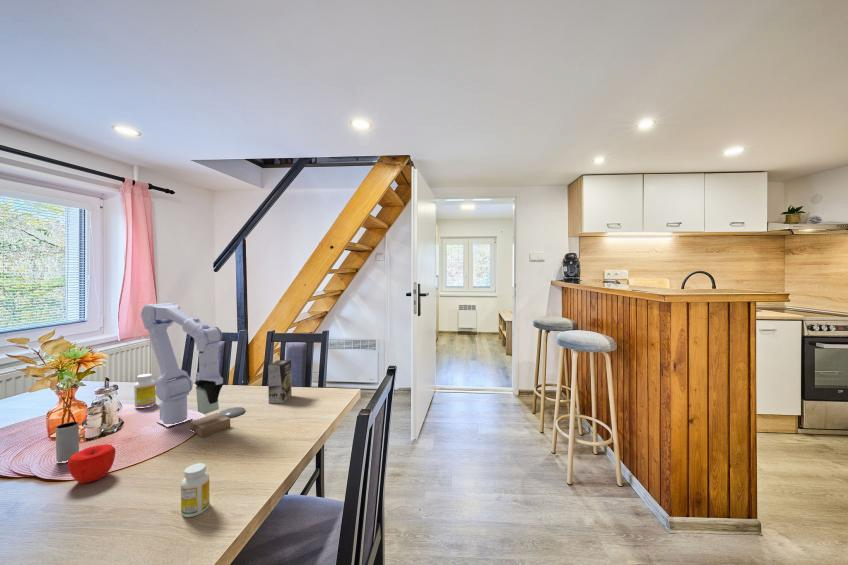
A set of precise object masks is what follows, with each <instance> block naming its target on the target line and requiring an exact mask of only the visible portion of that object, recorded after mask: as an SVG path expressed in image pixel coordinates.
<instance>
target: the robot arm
mask: <svg viewBox="0 0 848 565" xmlns="http://www.w3.org/2000/svg"><path fill="white" fill-rule="evenodd" d="M140 318H141V320H142V324H143V326H144V329H145V330H147V331H148V332H147V333H148V336H149V339H150V341H151V345H152V348H153V351H154V355H155V358H156V362H157V364H158V368H159V370H160V374H161V375H159V377H157V379H156V380H155V393H156V397H157V398H158V400H160V402H159V404H158V405H159V420H162V421H163V423H164V424H175V423H179V422H182V421H184V420H186V419H187V416H188V396H189V395H190V392H191V391H192V390H193V381H192V378H191V376H189V374H188V371H186V370H182V369H181V368H179V365H178V362H177V359H176V356H175V352H174V349H173V345H172V343H171V340H170V337H169V334H168V331H167V330H168V328H169V327H171V326H172V325H173V324H174V323H176V324H178V325H180V326H181V328H182V331H183V332H184V333H186V334H187V335H189V336H190V337H191V338H193V340H194V343H195V345H196V350H197V351H198V369H199V370H198V372H195V373H196V375H195V376H196V377H195V382H194V384H195V386H196V387H197V386H200V385H203V384H205V385H204V386H205V388H206V390H207V393H208V398H209V402H210V404H213V403H216V402H217V400H218V401H219V396H220V393H221V390H222V387H223V386H224V385H225V381H224V378H223V377H222V376H221V374H220V371H219V370H220V368H219V367H220V365H219V364H220V361H219V343H220V342H221V341H222V339H223V332H222V330H221V329H220V328H219V327H218V326H209V324H206V323H205V322H203V321H201V319H200V318H199V317H190V316H188V314H186V313H185V312H183V311H182V310H181V308H180V305H179V304H177V303H176V302H173V301H172V302H167V303H153V304H150V303H149V304H147V303H146V304H145V305H143V307H142V309H141V312H140ZM210 382H211V383H210ZM207 383H209V384H207Z"/></svg>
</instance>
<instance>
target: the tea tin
mask: <svg viewBox="0 0 848 565" xmlns="http://www.w3.org/2000/svg"><path fill="white" fill-rule="evenodd" d="M210 383H211V382H210ZM207 384H209V383H207ZM204 385H205V384H203V385H200V386H197V385H196V386H195V390H196V392H195V393H196V400H197V402H196V403H197V412H198V413H200V414H202V415H207V414H210V413H212V412H215V411H218V410H219V409H220V408H219V406H220V405H219V399H218V400H217V402H216V403H213V404H210V402H209V398H208V393H207V390H206V388H205V386H204Z"/></svg>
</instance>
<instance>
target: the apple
mask: <svg viewBox="0 0 848 565" xmlns="http://www.w3.org/2000/svg"><path fill="white" fill-rule="evenodd" d="M115 458H116V447H115V446H113V445H112V444H109V443H106V444H99V445H94V446H89V447H85V448H83V449H82V450H79V452H78V453H76V454H74V455H72V456H71V457H70V459H69V460H68V463H67V470H68V472H69V474H70V475H71V477H72V478H73V479H74V481H76V482H78V483H79V484H86V483H91V482H94V481H98V480H100V479H102V478H104V477H105V476H107V474H108V473H109V472H110V470H111V469H112V467H113V464H114V461H115Z"/></svg>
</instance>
